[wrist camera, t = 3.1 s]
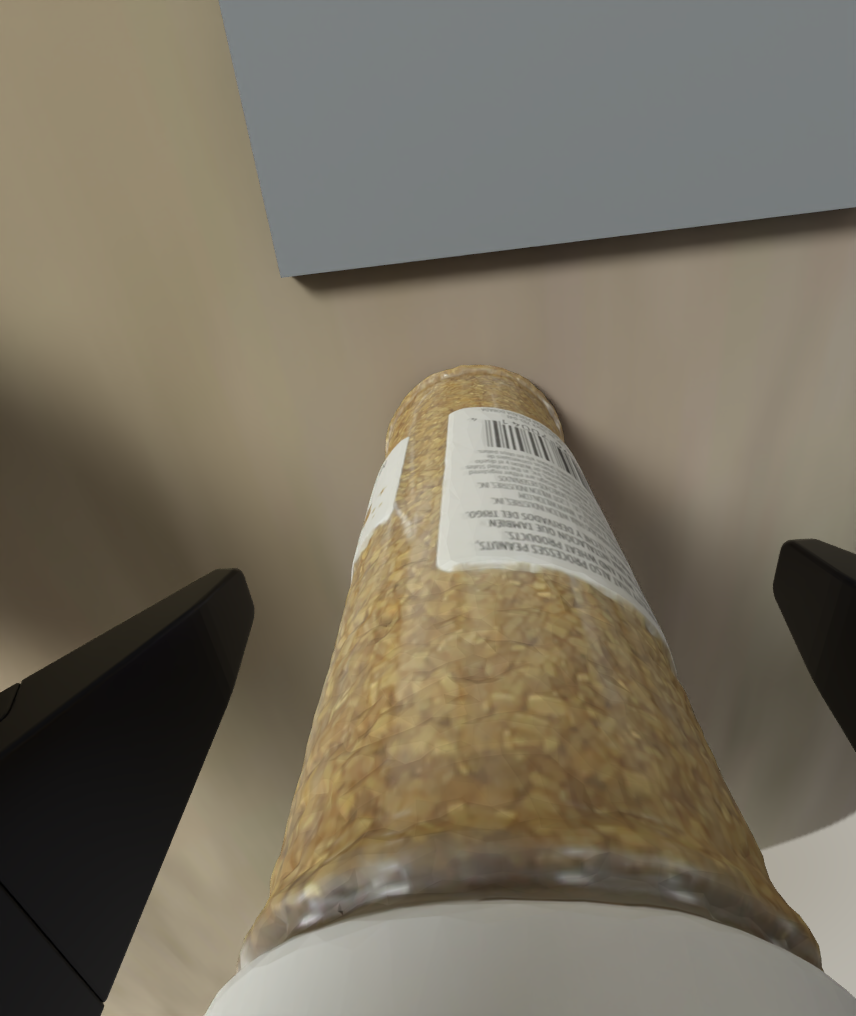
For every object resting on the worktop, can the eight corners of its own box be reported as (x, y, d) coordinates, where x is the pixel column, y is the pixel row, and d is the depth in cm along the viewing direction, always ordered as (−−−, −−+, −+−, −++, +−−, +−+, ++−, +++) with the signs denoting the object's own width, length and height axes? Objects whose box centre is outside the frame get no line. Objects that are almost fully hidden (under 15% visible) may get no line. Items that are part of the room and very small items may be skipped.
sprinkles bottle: (351, 435, 14) (-196, 1598, 2) (493, 318, 12) (1099, 2095, 1) (461, 552, 16) (474, 1601, 4) (599, 460, 14) (1339, 1754, 2)
